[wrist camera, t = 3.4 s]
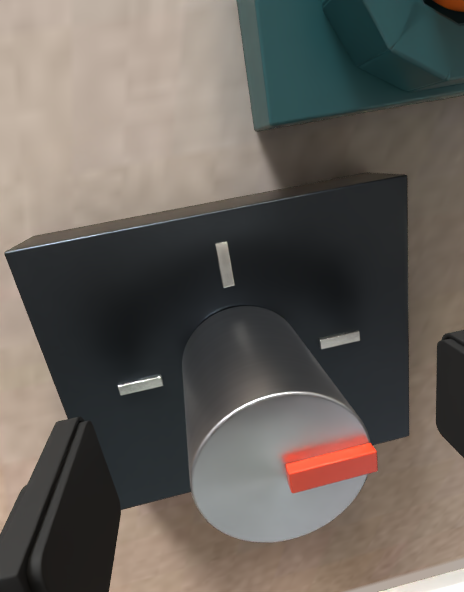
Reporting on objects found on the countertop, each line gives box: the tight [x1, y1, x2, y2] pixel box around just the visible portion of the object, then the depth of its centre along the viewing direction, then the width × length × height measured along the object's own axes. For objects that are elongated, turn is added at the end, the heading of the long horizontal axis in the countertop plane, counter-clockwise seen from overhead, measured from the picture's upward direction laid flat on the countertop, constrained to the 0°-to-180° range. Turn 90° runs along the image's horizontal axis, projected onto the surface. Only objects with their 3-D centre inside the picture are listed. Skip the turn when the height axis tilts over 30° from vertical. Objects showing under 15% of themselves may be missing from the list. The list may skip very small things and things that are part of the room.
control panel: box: [5, 173, 409, 510], centre depth 14 cm, size 12×10×3 cm
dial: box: [182, 306, 378, 543], centre depth 10 cm, size 4×4×5 cm
